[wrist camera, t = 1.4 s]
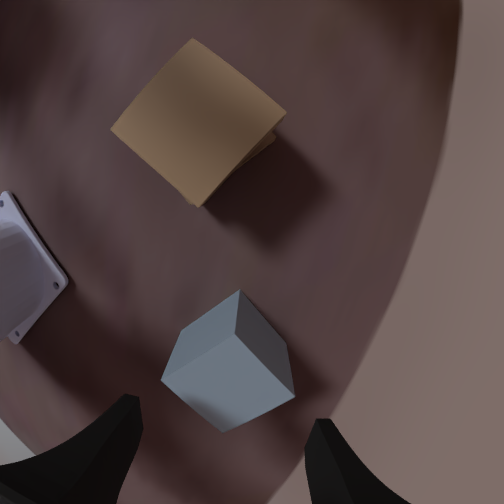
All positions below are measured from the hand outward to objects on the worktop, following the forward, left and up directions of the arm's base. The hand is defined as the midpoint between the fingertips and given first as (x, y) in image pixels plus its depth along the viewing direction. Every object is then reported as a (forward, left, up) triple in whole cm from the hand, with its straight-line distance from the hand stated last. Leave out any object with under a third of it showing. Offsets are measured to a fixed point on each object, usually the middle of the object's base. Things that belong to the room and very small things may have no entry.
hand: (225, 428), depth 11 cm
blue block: (0, 0, -7) cm, 7 cm away
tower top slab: (+6, +10, -5) cm, 13 cm away
